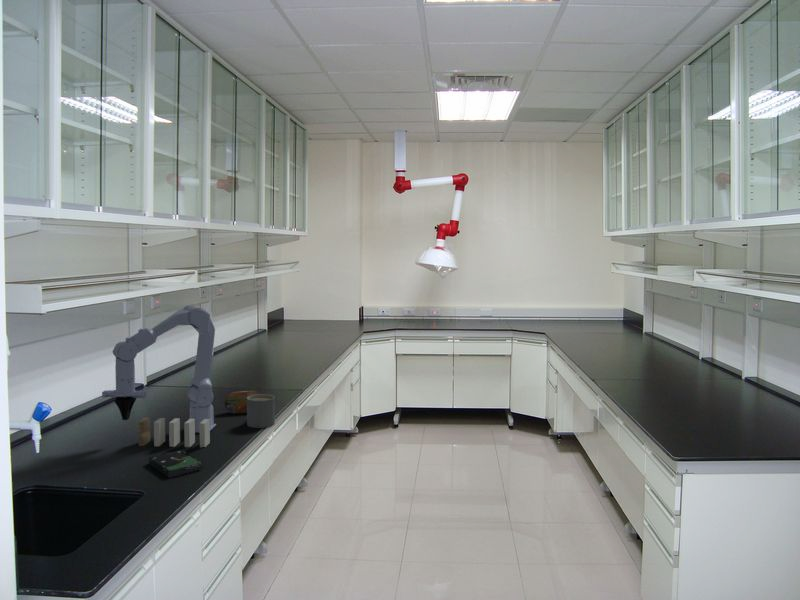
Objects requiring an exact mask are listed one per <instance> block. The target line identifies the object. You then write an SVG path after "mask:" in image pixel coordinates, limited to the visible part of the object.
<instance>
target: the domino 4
mask: <svg viewBox="0 0 800 600" xmlns="http://www.w3.org/2000/svg"><path fill="white" fill-rule="evenodd" d="M210 431H211V430H210V419H204V420H203V421H202V422H201V423H200V433H199V448H202V447H205V448H206V447H207V446H208V445H209V444H210V443H211V436H210V435H211V432H210Z"/></svg>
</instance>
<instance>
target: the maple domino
mask: <svg viewBox="0 0 800 600" xmlns="http://www.w3.org/2000/svg"><path fill="white" fill-rule="evenodd" d="M149 442H151V417H144V418H142V419H141V420H139V421H138V446H139V447H144V446H146V445H148V443H149Z"/></svg>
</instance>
